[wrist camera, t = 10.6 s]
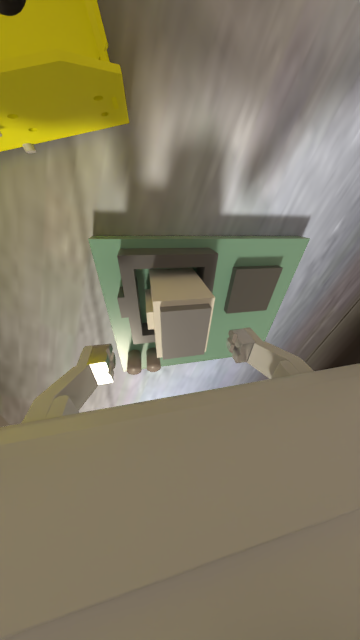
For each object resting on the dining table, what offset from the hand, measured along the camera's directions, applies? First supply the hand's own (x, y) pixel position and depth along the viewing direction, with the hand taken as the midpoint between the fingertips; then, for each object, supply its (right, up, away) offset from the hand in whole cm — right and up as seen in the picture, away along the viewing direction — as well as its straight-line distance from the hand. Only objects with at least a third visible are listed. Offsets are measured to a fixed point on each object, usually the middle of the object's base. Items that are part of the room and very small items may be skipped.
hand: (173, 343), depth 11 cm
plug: (0, +4, +5) cm, 7 cm away
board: (+3, +3, +9) cm, 10 cm away
